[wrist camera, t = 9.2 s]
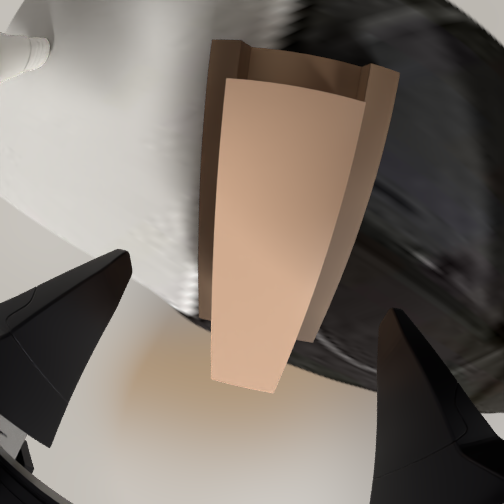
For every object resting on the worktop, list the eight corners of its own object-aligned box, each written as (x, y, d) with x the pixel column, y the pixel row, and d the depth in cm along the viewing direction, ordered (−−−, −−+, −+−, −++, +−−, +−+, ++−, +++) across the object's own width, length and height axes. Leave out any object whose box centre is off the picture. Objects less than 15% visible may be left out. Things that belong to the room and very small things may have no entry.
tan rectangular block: (335, 95, 10) (365, 102, 5) (288, 295, 17) (273, 393, 12) (269, 83, 11) (226, 77, 5) (242, 285, 18) (210, 379, 12)
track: (383, 76, 10) (401, 73, 8) (315, 309, 19) (314, 342, 17) (229, 48, 11) (209, 39, 8) (211, 287, 20) (197, 317, 17)
